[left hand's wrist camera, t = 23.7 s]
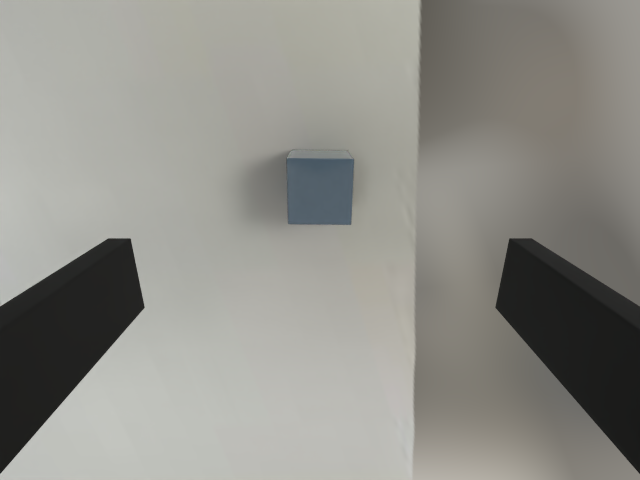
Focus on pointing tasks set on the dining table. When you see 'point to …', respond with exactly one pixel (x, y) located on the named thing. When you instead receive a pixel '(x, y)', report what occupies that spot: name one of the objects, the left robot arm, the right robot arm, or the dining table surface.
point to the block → (320, 187)
